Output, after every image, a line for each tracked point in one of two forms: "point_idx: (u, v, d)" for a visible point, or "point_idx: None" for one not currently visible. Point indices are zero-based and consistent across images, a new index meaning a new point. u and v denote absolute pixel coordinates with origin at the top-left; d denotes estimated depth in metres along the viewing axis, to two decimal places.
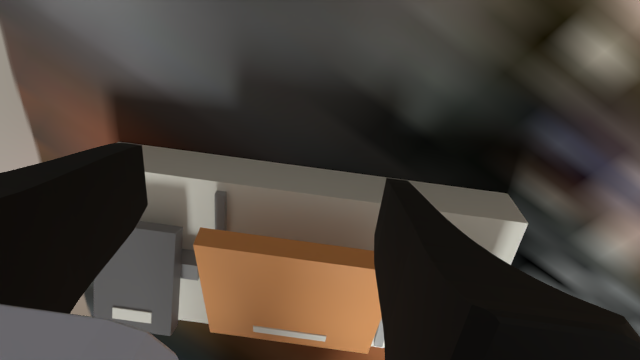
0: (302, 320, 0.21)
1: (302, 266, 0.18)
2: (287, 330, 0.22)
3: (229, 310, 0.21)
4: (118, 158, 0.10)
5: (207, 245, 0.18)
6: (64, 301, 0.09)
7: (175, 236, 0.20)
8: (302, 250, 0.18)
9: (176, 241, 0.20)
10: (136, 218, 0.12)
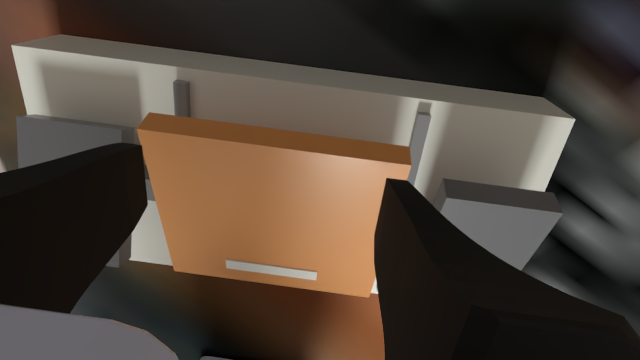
0: (286, 249, 0.17)
1: (283, 160, 0.13)
2: (268, 265, 0.18)
3: (194, 237, 0.17)
4: (118, 158, 0.10)
5: (156, 130, 0.13)
6: (64, 301, 0.09)
7: (121, 134, 0.15)
8: (283, 139, 0.14)
9: (123, 141, 0.15)
10: (136, 218, 0.12)
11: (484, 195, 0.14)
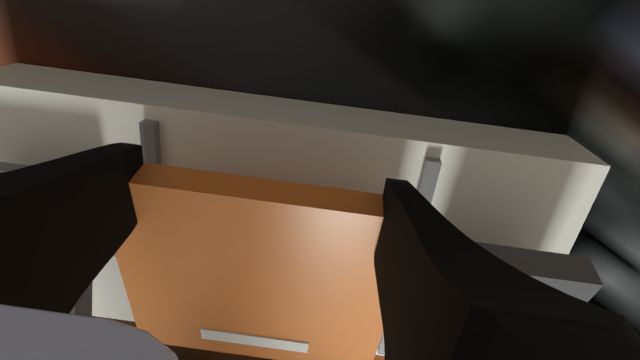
0: (272, 317, 0.14)
1: (267, 215, 0.11)
2: (251, 335, 0.15)
3: (164, 303, 0.14)
4: (118, 158, 0.10)
5: None
6: (64, 301, 0.09)
7: None
8: (267, 190, 0.11)
9: None
10: (136, 218, 0.12)
11: (507, 262, 0.12)
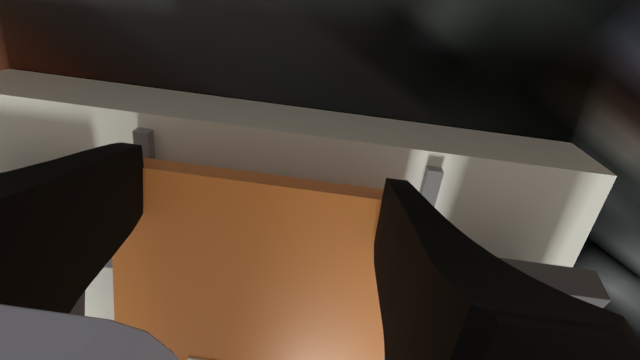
0: (267, 336, 0.13)
1: (271, 201, 0.12)
2: None
3: (152, 322, 0.13)
4: (118, 158, 0.10)
5: None
6: (64, 301, 0.09)
7: None
8: (272, 179, 0.12)
9: None
10: (136, 218, 0.12)
11: None
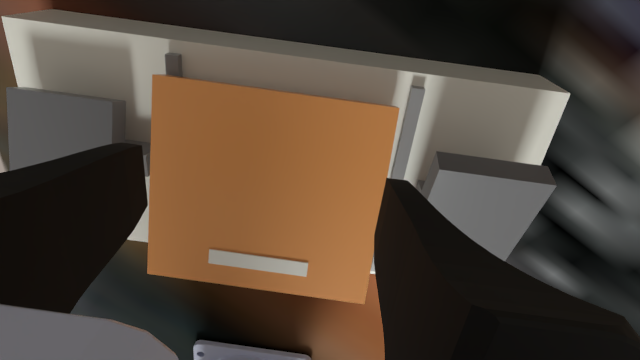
0: (277, 228, 0.16)
1: (283, 105, 0.15)
2: (255, 255, 0.16)
3: (181, 216, 0.16)
4: (118, 158, 0.10)
5: (169, 78, 0.15)
6: (64, 301, 0.09)
7: (112, 106, 0.15)
8: (283, 91, 0.15)
9: (114, 114, 0.15)
10: (136, 218, 0.12)
11: (477, 167, 0.14)
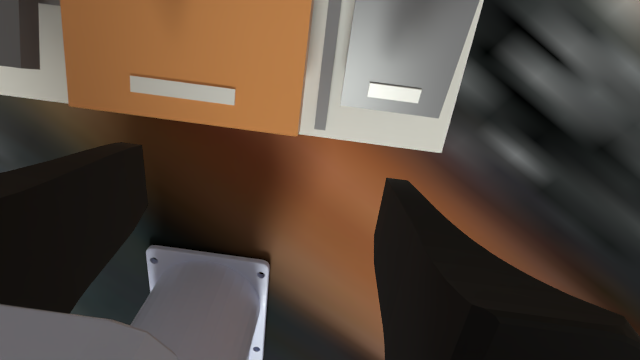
0: (200, 49, 0.15)
1: None
2: (179, 81, 0.15)
3: (97, 37, 0.15)
4: (118, 158, 0.10)
5: None
6: (64, 301, 0.09)
7: None
8: None
9: None
10: (136, 218, 0.12)
11: None
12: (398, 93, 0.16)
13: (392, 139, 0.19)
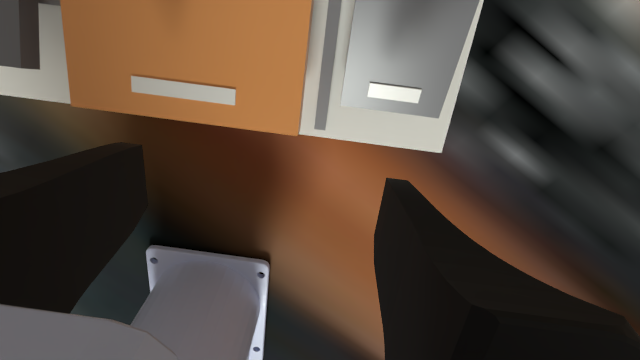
0: (200, 50, 0.15)
1: None
2: (180, 81, 0.15)
3: (97, 38, 0.15)
4: (118, 158, 0.10)
5: None
6: (64, 301, 0.09)
7: None
8: None
9: None
10: (136, 218, 0.12)
11: None
12: (398, 93, 0.16)
13: (392, 139, 0.19)
